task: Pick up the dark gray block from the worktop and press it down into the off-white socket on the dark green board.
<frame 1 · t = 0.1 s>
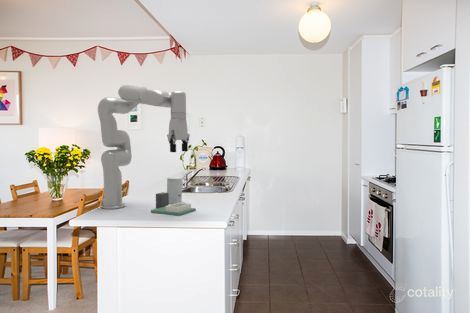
hand: (179, 151, 186), 31 cm above the countertop, tool pointing down, fingers open, 9 cm apart
header board: (173, 211, 194), on the countertop
dark gray block: (162, 207, 205), on the countertop
skincare box: (174, 203, 220), on the countertop
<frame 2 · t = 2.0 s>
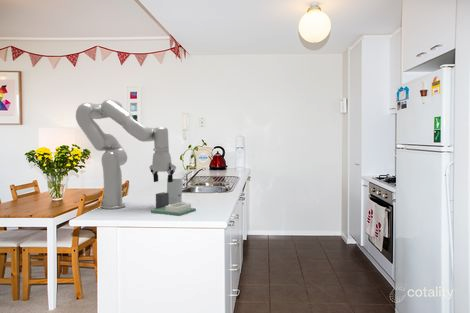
hand: (163, 181, 204), 14 cm above the countertop, tool pointing down, fingers open, 9 cm apart
nothing on the countertop moved.
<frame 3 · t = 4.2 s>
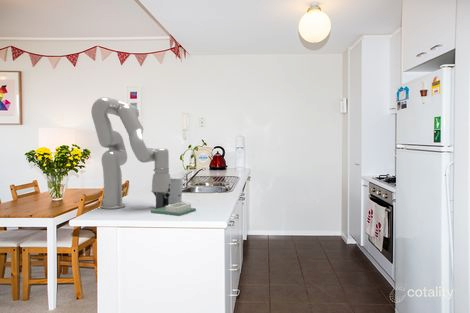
hand: (162, 204, 205), 2 cm above the countertop, tool pointing down, fingers closed on dark gray block, 4 cm apart
dark gray block: (162, 207, 205), on the countertop, touching gripper
everything else where it was.
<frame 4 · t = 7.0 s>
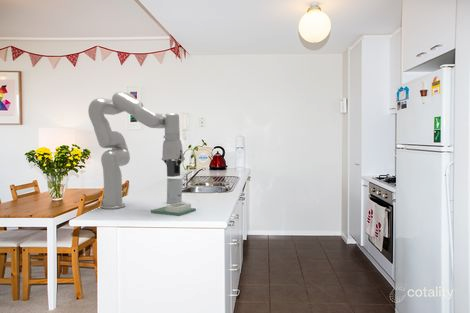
hand: (173, 172, 195), 20 cm above the countertop, tool pointing down, fingers closed on dark gray block, 4 cm apart
dark gray block: (173, 176, 195), point 18 cm above the countertop, touching gripper
everything else where it was.
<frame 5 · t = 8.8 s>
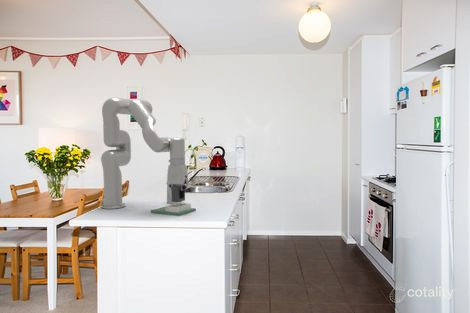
hand: (178, 197, 192), 8 cm above the countertop, tool pointing down, fingers closed on dark gray block, 4 cm apart
dark gray block: (178, 201, 193), point 6 cm above the countertop, touching gripper
everything else where it was.
when the fingers open (4 cm above the countertop, at t = 10.2 s): dark gray block drops 1 cm, resting on header board.
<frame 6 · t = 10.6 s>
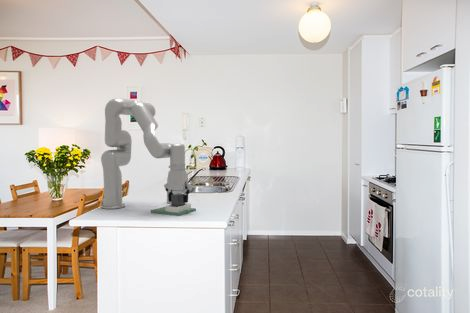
hand: (178, 201, 193), 5 cm above the countertop, tool pointing down, fingers open, 8 cm apart
dark gray block: (178, 209, 193), point 1 cm above the countertop, touching header board
everything else where it was.
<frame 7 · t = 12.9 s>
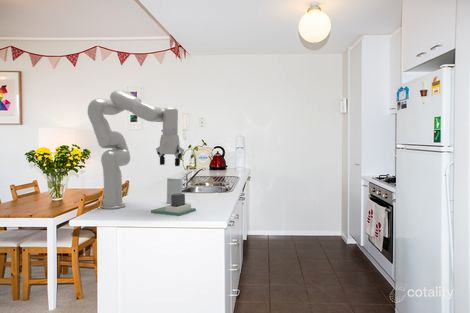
hand: (169, 165, 194), 24 cm above the countertop, tool pointing down, fingers open, 9 cm apart
nothing on the countertop moved.
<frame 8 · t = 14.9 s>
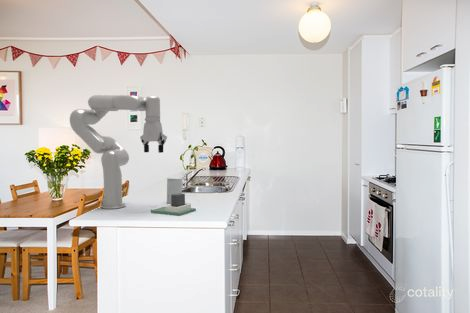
hand: (153, 152, 201), 30 cm above the countertop, tool pointing down, fingers open, 9 cm apart
nothing on the countertop moved.
at the end: dark gray block 0.1 cm from the target spot on the header board, point 1.2 cm above the header board's base; dark gray block tilted 0°; the gripper is holding nothing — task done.
